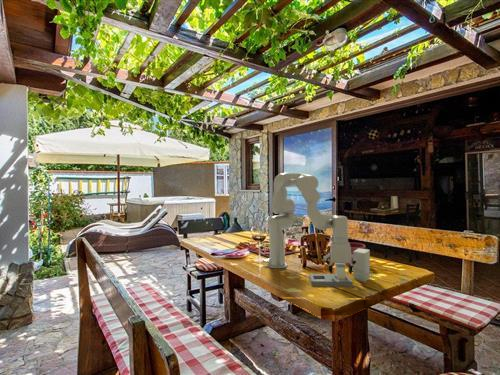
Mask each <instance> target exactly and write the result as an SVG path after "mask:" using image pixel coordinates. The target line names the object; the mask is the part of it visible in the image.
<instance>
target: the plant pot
mask: <svg viewBox="0 0 500 375" xmlns="http://www.w3.org/2000/svg"><path fill="white" fill-rule="evenodd" d="M349 243H350V248H351V254H353V251H355V250H357V249H358V248H360V249H366V245H365V244H364V243H360V242H349ZM352 261H353V257H351V262H352ZM345 266H347V267H349V263H345Z"/></svg>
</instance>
